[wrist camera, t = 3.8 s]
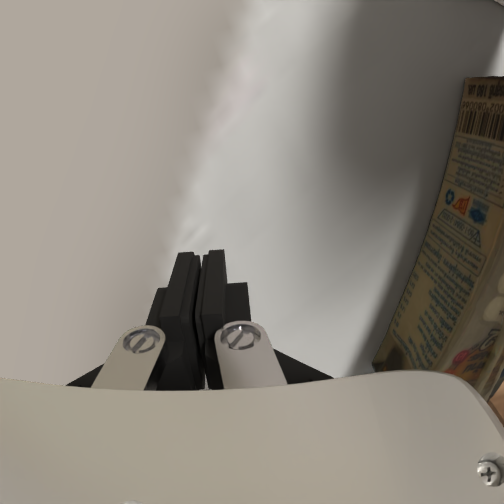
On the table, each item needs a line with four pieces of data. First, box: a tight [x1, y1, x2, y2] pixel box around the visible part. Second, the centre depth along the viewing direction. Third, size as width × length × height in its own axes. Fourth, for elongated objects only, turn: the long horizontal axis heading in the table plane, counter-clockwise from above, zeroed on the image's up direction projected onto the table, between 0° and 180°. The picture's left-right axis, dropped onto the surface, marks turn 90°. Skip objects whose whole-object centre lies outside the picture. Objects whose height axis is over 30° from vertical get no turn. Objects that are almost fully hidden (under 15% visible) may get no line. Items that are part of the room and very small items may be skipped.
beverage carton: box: [372, 76, 504, 403], centre depth 14 cm, size 8×19×6 cm, turn 169°
